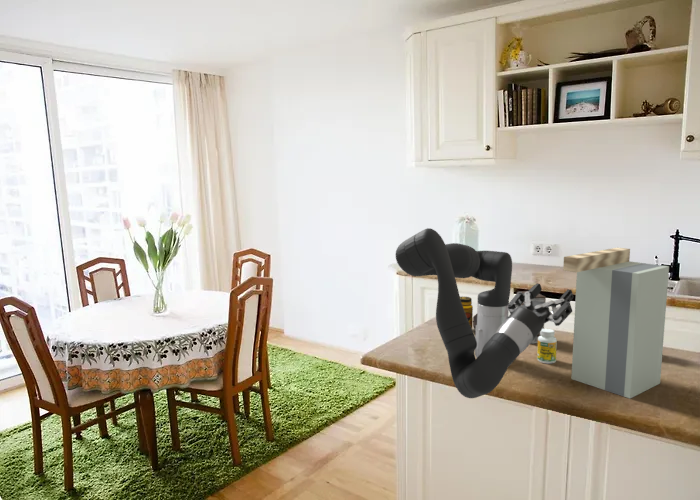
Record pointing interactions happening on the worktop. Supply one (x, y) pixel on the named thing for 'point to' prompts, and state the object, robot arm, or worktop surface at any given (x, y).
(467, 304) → the condiment
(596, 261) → the beech rod
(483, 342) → the robot arm
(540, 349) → the supplement bottle
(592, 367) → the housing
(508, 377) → the worktop surface
